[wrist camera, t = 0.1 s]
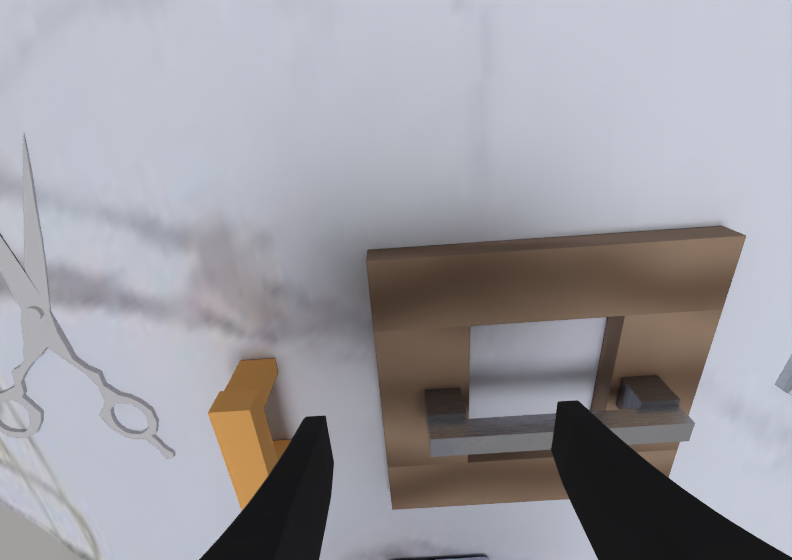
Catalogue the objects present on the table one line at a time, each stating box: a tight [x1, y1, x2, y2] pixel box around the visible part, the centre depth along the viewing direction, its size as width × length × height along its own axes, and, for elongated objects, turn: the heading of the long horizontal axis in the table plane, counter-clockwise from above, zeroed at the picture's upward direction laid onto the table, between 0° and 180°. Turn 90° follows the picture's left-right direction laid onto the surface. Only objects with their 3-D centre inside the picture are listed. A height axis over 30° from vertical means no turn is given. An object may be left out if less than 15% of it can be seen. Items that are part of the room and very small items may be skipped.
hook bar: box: [425, 375, 695, 457], centre depth 22 cm, size 2×13×3 cm, turn 94°
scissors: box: [0, 133, 175, 459], centre depth 22 cm, size 11×1×20 cm
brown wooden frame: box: [366, 226, 746, 510], centre depth 24 cm, size 18×18×2 cm
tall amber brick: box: [208, 358, 292, 510], centre depth 23 cm, size 8×2×4 cm, turn 4°
